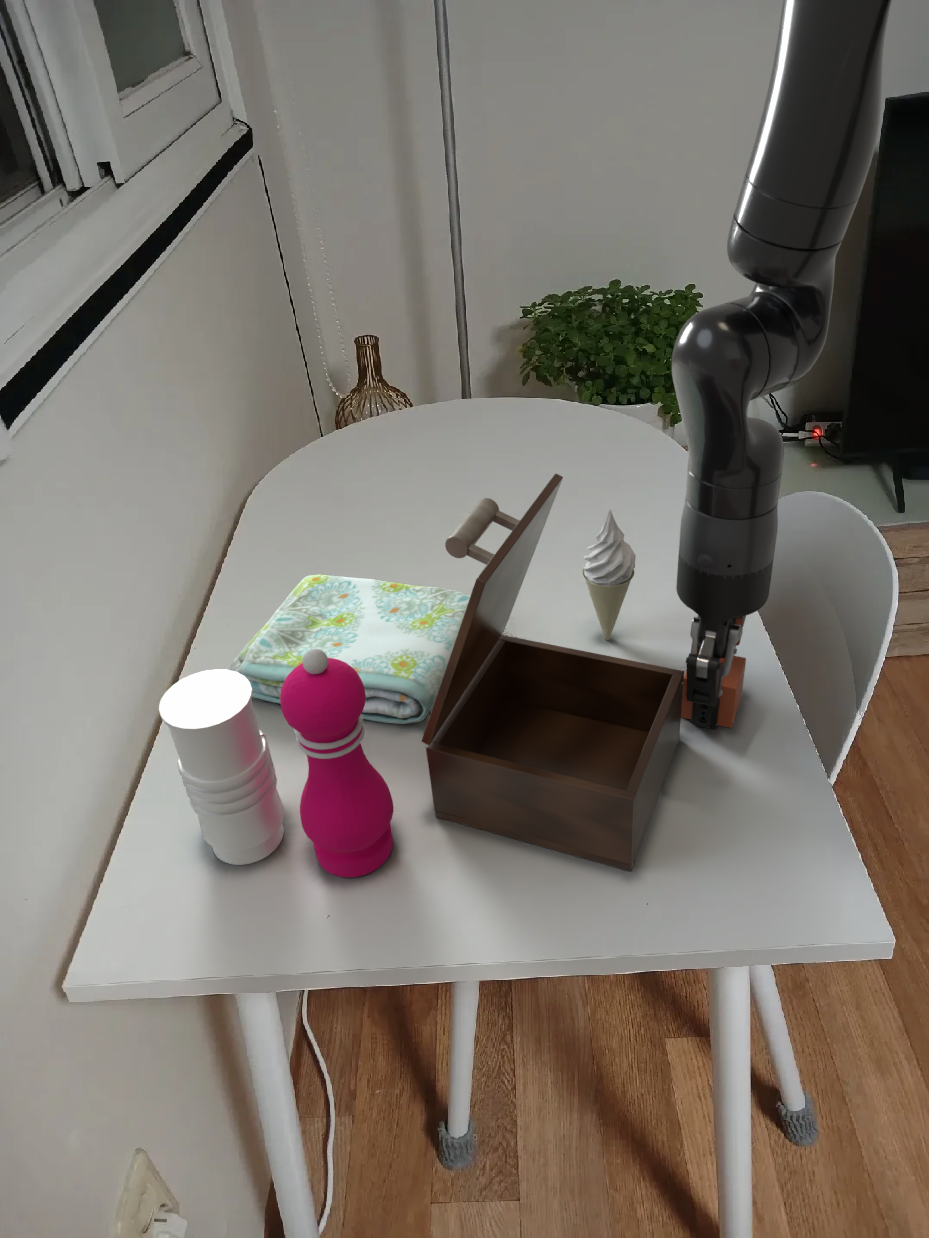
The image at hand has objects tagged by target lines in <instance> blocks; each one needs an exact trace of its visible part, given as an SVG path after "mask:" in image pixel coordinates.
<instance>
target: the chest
mask: <svg viewBox="0 0 929 1238" xmlns="http://www.w3.org/2000/svg"><path fill="white" fill-rule="evenodd" d="M684 675H685V671H684V670H683V669H682V670H681V669H677V668H671V667H667V666H661V665H656V664H651V663H647V662H640V661H636V660H631V659H628V658H627V659H626V658H623V657H622V658H621V657H616V656H611V655H606V654H601V653H596V652H591V651H586V650H580V649H577V648H570V647H566V646H561V645H556V644H550V643H545V642H540V641H535V640H530V639H525V638H519V637H515V636H509V635H505V634H502V635H501V637H500V638H499V640H498V641H497V643H496V644H495V646H494V647H493V649H492V650H491V652H490V654H489V655H488V657H487V658H486V660H485V661H484V663H483V664H482V666H481V667H480V669H479V670H478V672H477V673H476V675H475V676H474V678H473V679H472V681H471V682H470V684H469V685H468V687H467V688H466V690H465V692H464V693H463V695H462V696H461V698H460V699H459V701H458V702H457V704H456V705H455V707H454V708H453V710H452V711H451V713H450V714H449V716H448V717H447V719H446V720H445V722H444V723H443V725H442V726H441V728H440V729H439V731H438V733H437V734H436V736H435V737H434V739H433V740H432V742H431V743H430V745H427V744H426V747H425V750H426V751H425V752H426V759H427V766H428V767H427V768H428V773H429V781H430V788H431V795H432V802H433V809H434V817H436V818H439V819H443V820H446V821H449V822H453V823H457V824H460V825H464V826H468V827H472V828H475V829H477V830H482V831H485V832H490V833H492V834H495V835H499V836H504V837H506V838H510V839H514V840H517V841H520V842H524V843H527V844H531V845H535V846H538V847H543V848H545V849H549V850H553V851H556V852H560V853H563V854H567V855H570V856H574V857H578V858H581V859H583V860H584V859H585V860H588V861H592V862H595V863H599V864H603V865H606V866H610V867H613V868H617V869H620V870H624V871H627V872H631V871H632V870H633V866H634V865H635V861H636V858H637V855H638V853H639V850H640V848H641V845H642V842H643V840H644V837H645V834H646V832H647V828H648V826H649V824H650V821H651V818H652V815H653V813H654V809H655V806H656V804H657V802H658V798H659V796H660V793H661V791H662V788H663V785H664V782H665V779H666V778H667V774H668V772H669V769H670V766H671V764H672V761H673V758H674V755H675V752H676V749H677V748H678V744H679V741H680V737H681V724H682V723H681V722H682V717H681V710H682V696H683V682H684Z"/></svg>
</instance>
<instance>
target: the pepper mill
mask: <svg viewBox="0 0 929 1238" xmlns="http://www.w3.org/2000/svg"><path fill="white" fill-rule="evenodd" d="M365 699H366V696H365V689H364V685H363V682H362V680H361V678H360V676H359V675H358V673H357V672H356V671H355V669H354V668H353V667H351V666H350V665H348V664H347V663H345V662H343V661H341V660H338V659H334V658H328V657H327V655H326V654H325V652H323V651H322V650H320V649H311V650H309V651H307V652H306V653H305V655H304V656H303V660H302V664H300V665H298V666H297V667H296V668H294V669H293V670H292V671H291V672H290V674H289V675H288V676H287V677H286V679H285V681H284V683H283V685H282V688H281V693H280V710H281V713H282V716H283V718H284V719H285V721H286V722H287V724H288V725H289V726H290V727H291V728H292V729H293V732H294V736H295V738H296V745H297V747H298V749H299V750H300V751H301V752H302V753H303V754H305V755H306V758H307V765H308V770H307V771H308V773H307V779H306V782H305V784H304V786H303V790H302V793H301V796H300V803H299V816H300V822H301V823H300V824H301V827H302V830H303V832H304V833H305V835H306V837H307V838H308V839H309V840H310V841H311V842H312V844H313V849H314V852H315V857H316V860H317V862H318V864H319V865H320V867H322V869H323V870H324V871H326V872H327V873H329V874H331V875H334V876H336V877H338V878H339V877H340V878H358V877H359V878H360V877H362V876H364V875H365V876H366V875H368V874H371V873H372V872H374V871H376V870H378V869H379V868H380V867H381V866H383V864H384V863H386V861H387V860H388V858H389V857H390V856H391V853H392V852H393V851H392V850H393V849H394V848H393V847H394V837H393V831H392V825H391V822H392V820H393V815H394V801H393V797H392V794H391V791H390V787H389V786H388V784H387V782H386V780H385V779H384V777H383V776H382V774H381V773H380V772H379V771H378V770H377V769H376V768H375V767H374V766H373V764H372V763H371V762H370V761H369V759H368V758H367V756H366V755H365V752H364V749H363V746H362V741H363V739H364V737H365V734H366V726H365V724H364V719H363V716H362V714H361V713H362V711H363V709H364V706H365Z"/></svg>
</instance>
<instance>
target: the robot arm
mask: <svg viewBox="0 0 929 1238" xmlns="http://www.w3.org/2000/svg"><path fill="white" fill-rule="evenodd" d="M892 3H893V0H783V1H782V6H781V14H780V15H781V16H780V20H779V28H778V32H777V33H778V34H777V40H776V46H775V53H774V58H773V64H772V69H771V74H770V79H769V83H768V88H767V93H766V97H765V101H764V105H763V109H762V113H761V117H760V121H759V125H758V128H757V133H756V136H755V139H754V143H753V146H752V150H751V152H750V153H751V154H750V156H749V160H748V163H747V167H746V171H745V174H744V178H743V181H742V185H741V188H740V192H739V195H738V199H737V202H736V206H735V209H734V212H733V215H732V219H731V223H730V227H729V231H728V236H727V242H726V254H727V257H728V261H729V263H730V264H731V266H732V268H733V269H734V270H735V271H736V272H737V273H739V274H740V275H741V276H742V277H744V278H745V279H747V280H749V281H751V282H754V283H755V284H754V285H753V288H752V290H751V292H750V294H749V295H747V296H744V297H740V298H737V299H735V300H731V301H728V302H724V303H721V304H718V305H714V306H711V307H708V308H704V309H702V310H699V311H698V312H696V313H695V314H693V315H691V317H690V318H688V320H687V321H685V323H684V324H683V325H682V327H681V328H680V330H679V333H678V335H677V337H676V339H675V342H674V345H673V349H672V353H671V362H670V363H671V364H670V365H671V376H672V382H673V387H674V391H675V395H676V399H677V404H678V408H679V409H678V410H679V412H680V419H681V424H682V428H683V431H684V435H685V440H686V445H687V450H688V459H687V474H686V485H685V486H686V487H685V488H686V489H685V496H684V497H685V498H684V504H683V509H682V513H681V518H680V525H679V541H678V542H679V543H678V555H677V556H678V558H677V570H676V571H677V573H676V585H675V586H676V587H675V591H676V594H677V596H678V598H679V600H680V601H681V603H683V605H685V606H686V607H687V608H688V609H690V610H691V611H693V612H694V613H695V614H697V616H693V618H692V620H691V621H692V622H691V625H690V626H691V627H690V633H689V634H690V637H691V639H692V641H691V648H690V653H689V654H688V656H687V657H686V659H685V664H686V670H687V693H686V697H687V701H690V702H693V706H692V718H691V719H690V720H691V723H692V724H693V725H694V726H697V727H700V728H705V729H710V730H713V729H715V728H716V727H717V726H718V725H717V722H718V713H719V704H720V697H721V696H722V694H723V690H722V686H723V680H724V677H725V676H727V675H728V674H729V672H730V670H731V668H732V661H733V656H736V655H737V652H738V648H737V647H738V646H739V645H740V644H741V640H742V636H743V629H744V626H745V622H746V617H747V616H748V615H752V614H754V613H755V612H757V611H759V610H760V609H761V608H763V607H764V606H765V604H766V603H767V601H768V599H769V595H770V589H771V582H772V575H773V568H774V567H773V566H774V559H775V550H776V544H777V537H778V529H779V518H778V517H779V515H778V505H779V497H780V489H781V482H782V474H783V467H784V466H783V465H784V456H785V445H784V444H785V443H784V440H783V439H784V438H783V436H782V434H781V433H780V431H779V430H778V429H777V427H775V426H774V425H773V424H772V423H769V422H768V421H765V420H763V419H760V418H755V417H750V416H748V409H749V405H750V401H754V400H756V399H759V398H761V397H765V396H768V395H770V394H773V393H775V392H778V391H781V390H784V389H786V388H790V387H791V386H793V385H795V384H797V383H798V382H799V381H801V380H802V379H803V378H804V377H805V376H806V375H807V374H808V373H809V372H810V371H811V370H812V368H813V366H815V364H816V362H817V360H818V359H819V357H820V355H821V353H822V351H823V349H824V346H825V344H826V341H827V337H828V333H829V332H828V331H829V325H830V316H831V309H832V302H833V301H832V300H833V293H834V285H835V271H836V257H837V254H838V252H839V249H840V248H841V245H842V243H843V240H844V237H845V235H846V233H847V231H848V228H849V225H850V222H851V219H852V217H853V215H854V212H855V210H856V208H857V204H858V201H859V199H860V196H861V194H862V191H863V188H864V185H865V183H866V179H867V176H868V174H869V171H870V168H871V165H872V162H873V157H874V154H875V149H876V146H877V140H878V136H879V130H880V122H881V110H882V85H883V84H882V82H883V61H884V50H885V49H884V47H885V39H886V38H885V37H886V32H887V26H888V20H889V16H890V10H891V6H892ZM699 650H700V653H699ZM720 658H725V662H720Z"/></svg>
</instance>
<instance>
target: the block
mask: <svg viewBox="0 0 929 1238" xmlns="http://www.w3.org/2000/svg"><path fill="white" fill-rule="evenodd" d="M699 653H700V650H699ZM746 661H747V658H746V657H743V656H739V655H738V656H737V655H734V656H733V661H732V668H731V670H730V672H729V674H728V675H727V676H725V677H724V680H723V686H722V690H723V694H722V696H721V697H720V704H719V713H718V722H717V725H716V726H719V727H725V728H730V729H732V728H733V726H734V723H735V720H736V716H737V713H738V709H739V707H740V703H741V700H742V697H743V686H744V680H745V679H744V678H745V670H746V663H747V662H746ZM720 662H725V658H720ZM686 693H687V669H686V670H685V672H684V682H683V696H682V710H681V719H686V720H687V719H688V720H691V718H692V706H693V702H690V701H687V697H686Z"/></svg>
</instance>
